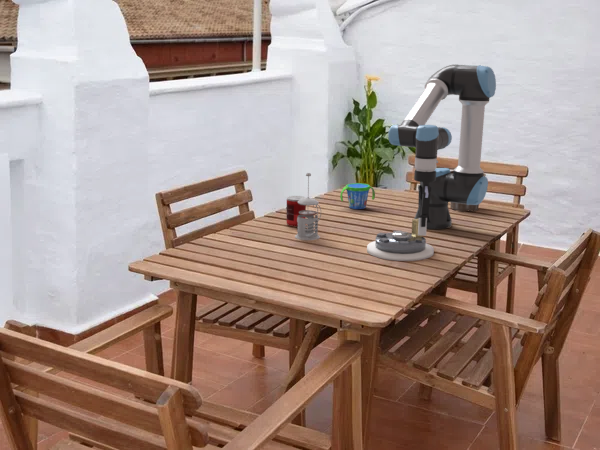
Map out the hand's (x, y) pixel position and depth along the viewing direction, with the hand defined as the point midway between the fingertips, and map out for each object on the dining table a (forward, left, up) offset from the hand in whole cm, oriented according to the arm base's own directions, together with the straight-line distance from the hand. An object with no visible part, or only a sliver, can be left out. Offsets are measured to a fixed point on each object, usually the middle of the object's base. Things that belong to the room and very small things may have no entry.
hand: (422, 234), depth 301 cm
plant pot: (-45, -67, -7) cm, 80 cm away
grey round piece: (+6, -5, -5) cm, 9 cm away
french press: (+34, -31, -7) cm, 47 cm away
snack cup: (+2, -76, -7) cm, 76 cm away
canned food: (+35, -51, -7) cm, 62 cm away
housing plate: (+6, -5, -7) cm, 11 cm away
